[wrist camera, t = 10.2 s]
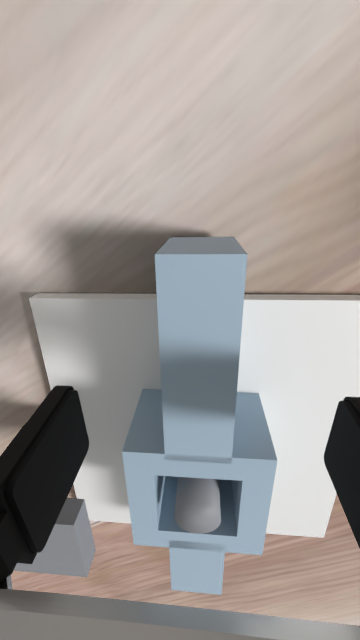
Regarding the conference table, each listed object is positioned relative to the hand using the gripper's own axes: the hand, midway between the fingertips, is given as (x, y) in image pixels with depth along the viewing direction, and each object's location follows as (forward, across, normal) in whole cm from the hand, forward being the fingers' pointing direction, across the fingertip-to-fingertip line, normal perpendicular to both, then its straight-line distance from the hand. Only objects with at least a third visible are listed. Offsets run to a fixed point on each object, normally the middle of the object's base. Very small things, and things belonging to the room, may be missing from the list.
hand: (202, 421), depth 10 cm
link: (+7, 0, +5) cm, 8 cm away
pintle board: (+7, 0, +8) cm, 11 cm away
